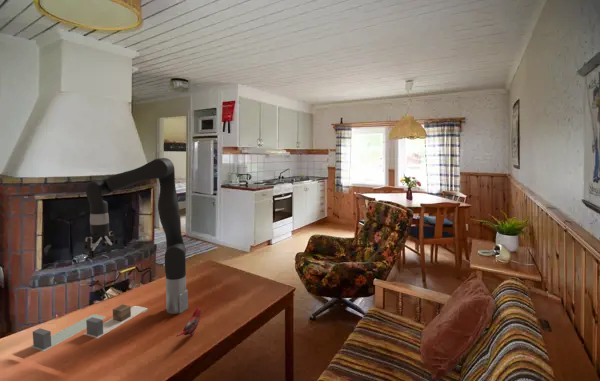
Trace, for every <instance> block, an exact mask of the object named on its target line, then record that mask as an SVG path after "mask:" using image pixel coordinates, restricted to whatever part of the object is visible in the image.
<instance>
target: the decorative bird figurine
mask: <svg viewBox="0 0 600 381" xmlns="http://www.w3.org/2000/svg"><path fill="white" fill-rule="evenodd" d="M201 311H202V309H201V308H199V307H197V308H196V309H195V310H194V312H193V314H192V316H191V318H190V319H189V320H188V321H187V323H186V325H185V326H184V328H183V330H182V331H181V332H179V333H178V334H177V335H176V337H180V336H189V337H188V338H191V337H193V336H194V334H195V332H196V329H197V328H198V326H199V322H200V319H201V314H202V313H201Z"/></svg>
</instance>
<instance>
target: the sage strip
mask: <svg viewBox="0 0 600 381" xmlns="http://www.w3.org/2000/svg"><path fill="white" fill-rule="evenodd" d="M92 317H93V318H97V319H101V320H103V321H104V319H106V318H107V316H104V315H99V314H96V313H92V314H91V315H89V316H87V317H85V318H82V319H81V320H79V321H77V322H75V323H73V324H71V325H69V326H67V327H66V328H64V329H62V330H59V331H58V332H56V333H53V334H52V333H51V331H50V330H47V329H44V328H41V327H40V328H38V329H35V330H33V331H32V342H33V343H32V344H33V345H30V346H29V347H30V348H31V349H35V350H38V351H41V352H46V351H48V350H49V349H51V348H54V347H55V346H56V345H58V344H60V343H62V342H64V341H66V340H68V339H69V338H71V337H73V336H75V335H77V334H79V333H81V332H83V331H85V330H87V324H86V320H88V319H90V318H92Z"/></svg>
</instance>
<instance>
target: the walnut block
mask: <svg viewBox="0 0 600 381" xmlns="http://www.w3.org/2000/svg"><path fill="white" fill-rule="evenodd" d="M129 317H131V305H127V304H120V305H118V306H117V307H114V308H112V318H113V320H116V321H120V322H122V321H124V320H126V319H127V318H129Z"/></svg>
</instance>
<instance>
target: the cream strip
mask: <svg viewBox="0 0 600 381" xmlns="http://www.w3.org/2000/svg"><path fill="white" fill-rule="evenodd" d="M147 311H149V309H148V308H147V307H144V306H138V305H134V306H132V307H131V317H129V318H127V319H126V320H124V321H122V322H120V321H116V320H113V317H112V318H110V319H108V320H106V321H104V319H103V320H101V319H97V318H93V317H92V318H90V319H88V320H86V324H87V328H86V332H85V333H83V335H84V336H88V337H91V338H94V339H99V338H101V337H103V336H104V335H105V334H108V333H109V332H111V331H113V330H114V329H116V328H118V327H119V326H121V325H122V324H125V323H126V322H128V321H130V320H131V319H133V318H134V317H136V316H137V315H140V314H141V313H142V314H143V313H146V312H147Z"/></svg>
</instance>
